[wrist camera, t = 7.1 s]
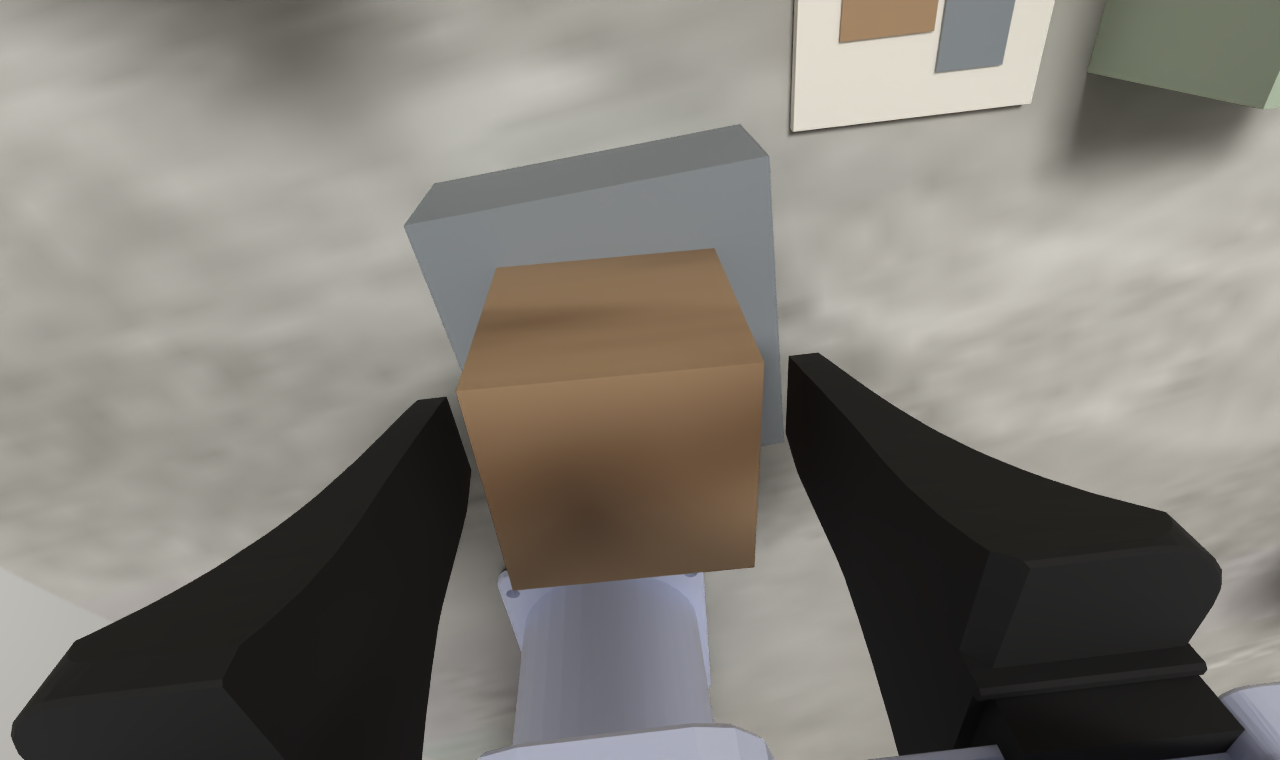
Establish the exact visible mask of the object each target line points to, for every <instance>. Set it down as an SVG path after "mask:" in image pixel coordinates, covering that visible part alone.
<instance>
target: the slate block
mask: <svg viewBox="0 0 1280 760" xmlns="http://www.w3.org/2000/svg"><path fill="white" fill-rule="evenodd" d="M404 228H405V230H406V233H407V235H408V238H409V240H410V243H411V245H412V248H413V250H414V253H415V255H416V258H417V260H418V263H419V265H420V268H421V270H422V273H423V275H424V278H425V280H426V283H427V285H428V288H429V290H430V293H431V295H432V298H433V300H434V303H435V305H436V308H437V310H438V313H439V315H440V318H441V320H442V323H443V325H444V328H445V330H446V333H447V335H448V338H449V340H450V343H451V345H452V348H453V350H454V353H455V355H456V358H457V360H458V363H459V365H460V368H461V370H462V371H463V368H464V365H465V362H466V359H467V356H468V353H469V350H470V347H471V344H472V341H473V337H474V334H475V331H476V328H477V325H478V322H479V319H480V316H481V313H482V310H483V307H484V304H485V301H486V298H487V295H488V292H489V289H490V286H491V283H492V279H493V276H494V273H495V270H496V268H499V267H510V266H521V265H532V264H543V263H554V262H565V261H576V260H588V259H599V258H610V257H621V256H632V255H643V254H654V253H665V252H676V251H687V250H699V249H710V248H715V251H716V253H717V255H718V258H719V260H720V262H721V264H722V267H723V269H724V271H725V274H726V276H727V278H728V280H729V283H730V285H731V287H732V290H733V292H734V294H735V297H736V299H737V301H738V303H739V306H740V308H741V310H742V313H743V315H744V317H745V319H746V322H747V324H748V326H749V329H750V331H751V333H752V335H753V338H754V340H755V342H756V345H757V347H758V349H759V351H760V354H761V356H762V358H763V361H764V379H763V400H762V421H761V441H760V446H764V445H770V444H776V443H781V442H784V432H783V413H782V394H781V374H780V355H779V336H778V316H777V297H776V278H775V258H774V239H773V220H772V200H771V181H770V162H769V155H768V154H767V153H766V152H765V151H764V150H763V149H762V147H761V146H760V145H759V144H758V143H757V142H756V141H755V140H754V139H753V138H752V137H751V136H750V134H749V133H748V132H747V131H746V130H745V129H744V128H743V127H742V126H741V125H740V124H738V125H733V126H728V127H723V128H718V129H713V130H707V131H702V132H697V133H692V134H687V135H682V136H677V137H671V138H666V139H661V140H656V141H651V142H646V143H641V144H635V145H630V146H625V147H620V148H615V149H610V150H605V151H599V152H594V153H589V154H584V155H579V156H574V157H569V158H563V159H558V160H553V161H548V162H543V163H538V164H533V165H527V166H522V167H517V168H512V169H507V170H502V171H496V172H491V173H486V174H481V175H476V176H471V177H466V178H460V179H455V180H450V181H445V182H440V183H435V184H434V185H433V186H432V188H431V189H430V190H429V192H428V193H427V194H426V196H425V197H424V198H423V200H422V201H421V203H420V204H419V205H418V207H417V208H416V209H415V211H414V212H413V214H412V215H411V216H410V218H409V219H408V220H407V222H406V223H405V225H404Z"/></svg>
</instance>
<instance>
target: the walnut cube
mask: <svg viewBox="0 0 1280 760" xmlns="http://www.w3.org/2000/svg"><path fill="white" fill-rule="evenodd" d="M763 379H764V361H763V358H762V356H761V354H760V351H759V349H758V347H757V345H756V342H755V340H754V338H753V335H752V333H751V331H750V329H749V326H748V324H747V322H746V319H745V317H744V315H743V313H742V310H741V308H740V306H739V303H738V301H737V299H736V297H735V294H734V292H733V290H732V287H731V285H730V283H729V280H728V278H727V276H726V274H725V271H724V269H723V267H722V264H721V262H720V260H719V258H718V255H717V253H716V251H715V248H710V249H699V250H687V251H676V252H665V253H654V254H643V255H632V256H621V257H610V258H599V259H588V260H576V261H565V262H554V263H543V264H532V265H521V266H510V267H499V268H496V270H495V273H494V276H493V279H492V283H491V286H490V289H489V292H488V295H487V298H486V301H485V304H484V307H483V310H482V313H481V316H480V319H479V322H478V325H477V328H476V331H475V334H474V337H473V341H472V344H471V347H470V350H469V353H468V356H467V359H466V362H465V365H464V368H463V371H462V374H461V377H460V380H459V383H458V386H457V389H456V393H457V397H458V400H459V404H460V407H461V411H462V414H463V418H464V421H465V425H466V428H467V432H468V435H469V439H470V442H471V446H472V449H473V453H474V456H475V460H476V463H477V467H478V470H479V474H480V477H481V481H482V484H483V488H484V491H485V495H486V498H487V502H488V506H489V509H490V513H491V516H492V520H493V523H494V527H495V530H496V534H497V537H498V541H499V544H500V548H501V551H502V555H503V558H504V562H505V565H506V569H507V572H508V576H509V579H510V583H511V586H512V590H513V591H516V590H526V589H536V588H546V587H557V586H567V585H577V584H587V583H598V582H608V581H618V580H628V579H639V578H649V577H659V576H670V575H680V574H690V573H700V572H711V571H721V570H731V569H741V568H752V567H754V565H755V544H756V524H757V503H758V482H759V462H760V441H761V421H762V400H763Z"/></svg>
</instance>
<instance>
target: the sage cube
mask: <svg viewBox="0 0 1280 760" xmlns="http://www.w3.org/2000/svg"><path fill="white" fill-rule="evenodd" d="M1087 72H1088V73H1093V74H1097V75H1102V76H1107V77H1112V78H1116V79H1121V80H1126V81H1131V82H1135V83H1140V84H1145V85H1150V86H1154V87H1159V88H1164V89H1169V90H1173V91H1178V92H1183V93H1188V94H1192V95H1197V96H1202V97H1207V98H1211V99H1216V100H1221V101H1226V102H1230V103H1235V104H1240V105H1245V106H1249V107H1254V108H1259V109H1270V108H1279V107H1280V0H1107V1H1106V5H1105V8H1104V12H1103V16H1102V19H1101V23H1100V27H1099V30H1098V34H1097V37H1096V41H1095V45H1094V48H1093V52H1092V56H1091V59H1090V63H1089V67H1088V70H1087Z"/></svg>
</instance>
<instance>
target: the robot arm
mask: <svg viewBox="0 0 1280 760" xmlns="http://www.w3.org/2000/svg"><path fill="white" fill-rule="evenodd" d="M786 436H787V439H788V442H789V446H790V449H791V453H792V456H793V459H794V463H795V466H796V469H797V472H798V475H799V477H800V479H801V481H802V484H803V486H804V488H805V490H806V492H807V495H808V497H809V499H810V501H811V503H812V506H813V508H814V510H815V512H816V514H817V516H818V519H819V521H820V523H821V525H822V527H823V529H824V532H825V534H826V536H827V538H828V540H829V542H830V545H831V547H832V549H833V551H834V553H835V555H836V558H837V560H838V562H839V565H840V567H841V570H842V572H843V575H844V577H845V580H846V583H847V586H848V589H849V592H850V595H851V598H852V601H853V604H854V607H855V610H856V613H857V616H858V619H859V622H860V625H861V628H862V631H863V635H864V638H865V641H866V644H867V647H868V651H869V654H870V657H871V660H872V663H873V666H874V670H875V673H876V677H877V680H878V684H879V687H880V690H881V694H882V697H883V701H884V704H885V707H886V711H887V714H888V718H889V721H890V725H891V728H892V732H893V736H894V739H895V743H896V747H897V751H898V754H899V756H895V757H886V758H877V759H869V760H1280V682H1273V683H1264V684H1256V685H1247V686H1243V687H1239V688H1234V689H1232V690H1230V691H1228V692H1226V693H1223V694H1221V695H1220V696H1219V697H1217V696H1216V695H1215V693H1214V692H1213V691H1212V690H1211V689H1210V688H1209V686H1208V685H1207V684H1206V683H1205V682H1204V681H1203V679H1202V678H1201V677H1200V676H1199V675H1204V673H1205V672H1206V670H1207V666H1206V663H1205V661H1204V660H1203V659H1202V658H1201V657H1200V656H1199V655H1198V653H1197V652H1196V651H1195V650H1194V649H1193V648H1192V647H1191V645H1190V644H1189V643H1188V642H1189V641H1190V639H1191V638H1192V636H1193V635H1194V633H1195V632H1196V630H1197V629H1198V627H1199V626H1200V624H1201V623H1202V621H1203V620H1204V618H1205V617H1206V615H1207V614H1208V612H1209V611H1210V609H1211V608H1212V606H1213V605H1214V602H1215V600H1216V598H1217V596H1218V594H1219V592H1220V589H1221V585H1222V569H1221V568H1220V566H1219V564H1218V563H1217V561H1216V559H1215V558H1214V557H1213V556H1212V555H1211V554H1210V553H1209V552H1208V551H1207V550H1206V549H1205V548H1204V547H1202V546H1201V545H1200V544H1199V543H1198V542H1197V541H1196V540H1195V539H1194V538H1193V537H1192V536H1191V535H1190V534H1189V533H1188V532H1187V531H1186V530H1185V529H1183V528H1182V527H1181V526H1180V525H1179V524H1178V523H1177V522H1176V521H1175V520H1174V519H1173V518H1172V517H1171V516H1169V515H1168V514H1167V513H1166V512H1163V511H1159V510H1155V509H1151V508H1148V507H1144V506H1140V505H1136V504H1132V503H1128V502H1124V501H1120V500H1117V499H1113V498H1109V497H1105V496H1101V495H1097V494H1094V493H1090V492H1087V491H1084V490H1081V489H1078V488H1075V487H1071V486H1068V485H1065V484H1062V483H1059V482H1056V481H1053V480H1050V479H1047V478H1044V477H1041V476H1038V475H1036V474H1033V473H1030V472H1027V471H1025V470H1022V469H1019V468H1017V467H1015V466H1012V465H1010V464H1007V463H1005V462H1002V461H1000V460H997V459H995V458H992V457H990V456H988V455H985V454H983V453H981V452H978V451H976V450H974V449H972V448H970V447H968V446H966V445H964V444H962V443H960V442H958V441H956V440H954V439H952V438H950V437H948V436H945V435H943V434H941V433H940V432H938V431H936V430H934V429H932V428H930V427H929V426H927V425H925V424H923V423H922V422H920V421H918V420H917V419H915V418H913V417H912V416H910V415H908V414H907V413H905V412H903V411H902V410H900V409H898V408H897V407H895V406H894V405H892V404H891V403H889V402H887V401H886V400H884V399H883V398H881V397H880V396H878V395H877V394H876V393H874V392H873V391H871V390H870V389H868V388H867V387H865V386H864V385H863V384H861V383H860V382H858V381H857V380H856V379H854V378H853V377H851V376H850V375H849V374H847V373H846V372H844V371H843V370H842V369H840V368H839V367H838V366H836V365H835V364H833V363H832V362H831V361H829V360H828V359H827V358H825V357H824V356H822V355H821V354H819V353H811V354H802V355H794V356H789V363H788V388H787V413H786ZM470 478H471V468H470V465H469V462H468V459H467V456H466V453H465V450H464V447H463V444H462V441H461V438H460V435H459V432H458V429H457V426H456V423H455V420H454V417H453V414H452V411H451V408H450V405H449V402H448V399H447V397H440V398H431V399H423V400H417V401H416V402H415V403H414V404H413V405H412V406H411V407H410V408H408V409H407V410H406V411H405V412H404V413H403V414H402V415H401V416H400V417H399V418H398V419H397V420H396V421H395V422H394V423H393V424H392V425H391V426H390V427H389V428H388V429H387V430H386V431H385V432H384V433H383V434H382V435H381V436H380V437H379V438H378V439H377V440H376V441H375V442H374V443H373V444H372V445H371V446H370V447H369V448H368V449H367V450H366V451H365V452H364V453H363V454H362V455H361V456H360V457H359V458H358V459H357V460H356V461H355V462H354V463H353V464H352V465H350V466H349V467H348V468H347V469H346V470H345V471H344V472H343V473H342V474H341V475H339V476H338V477H337V478H336V479H335V480H334V481H333V482H332V483H331V484H329V485H328V486H327V487H326V488H325V489H324V490H323V491H322V492H321V493H319V494H318V495H317V496H316V497H315V498H313V499H312V500H311V501H310V502H308V503H307V504H306V505H305V506H303V507H302V508H301V509H300V510H298V511H297V512H296V513H294V514H293V515H292V516H291V517H289V518H288V519H287V520H285V521H284V522H283V523H281V524H280V525H279V526H277V527H276V528H275V529H273V530H272V531H270V532H269V533H268V534H266V535H265V536H263V537H262V538H260V539H259V540H257V541H255V542H254V543H252V544H251V545H249V546H248V547H246V548H245V549H243V550H242V551H240V552H239V553H237V554H236V555H234V556H233V557H231V558H230V559H228V560H227V561H225V562H224V563H222V564H221V565H219V566H217V567H216V568H214V569H212V570H211V571H209V572H207V573H206V574H204V575H202V576H201V577H199V578H197V579H195V580H194V581H192V582H190V583H188V584H187V585H185V586H183V587H181V588H180V589H178V590H176V591H174V592H172V593H171V594H169V595H167V596H165V597H163V598H161V599H160V600H158V601H156V602H154V603H152V604H150V605H148V606H146V607H144V608H142V609H140V610H138V611H136V612H134V613H132V614H130V615H128V616H126V617H124V618H122V619H120V620H118V621H116V622H114V623H112V624H110V625H108V626H106V627H104V628H102V629H100V630H98V631H96V632H94V633H92V634H89V635H87V636H85V637H83V638H81V639H79V640H76V641H75V642H74V643H73V645H72V646H71V647H70V649H69V650H68V651H67V652H66V654H65V655H64V656H63V658H62V659H61V660H60V662H59V663H58V664H57V665H56V667H55V668H54V669H53V671H52V672H51V673H50V675H49V676H48V677H47V679H46V680H45V681H44V682H43V684H42V685H41V686H40V688H39V689H38V690H37V692H36V693H35V694H34V696H33V697H32V698H31V699H30V701H29V702H28V703H27V705H26V706H25V707H24V709H23V710H22V711H21V713H20V714H19V715H18V717H17V718H16V719H15V720H14V722H13V725H12V731H11V737H12V740H13V743H14V745H15V747H16V749H17V751H18V754H19V755H20V756H21V757H22V758H23V759H24V760H422V752H423V742H424V732H425V721H426V713H427V704H428V696H429V688H430V680H431V672H432V665H433V658H434V651H435V644H436V638H437V631H438V624H439V620H440V615H441V610H442V606H443V602H444V598H445V594H446V590H447V586H448V583H449V579H450V575H451V571H452V567H453V564H454V560H455V556H456V552H457V548H458V545H459V541H460V537H461V533H462V529H463V525H464V521H465V517H466V512H467V505H468V497H469V488H470ZM498 588H499V591H500V594H501V597H502V600H503V602H504V605H505V608H506V611H507V614H508V616H509V619H510V622H511V625H512V628H513V631H514V633H515V636H516V639H517V642H518V645H519V648H520V650H521V653H522V656H521V665H520V675H519V685H518V694H517V704H516V713H515V723H514V733H513V742H512V745H511V746H507V747H504V748H500V749H496V750H492V751H489V752H485V753H484V754H483V755H481V756H480V757H479V758H478V759H476V760H774V757H773V756H772V754H771V752H770V750H769V748H768V746H767V744H766V743H765V741H764V739H762V738H761V737H759V736H758V735H756V734H754V733H751V732H749V731H746V730H744V729H741V728H739V727H736V726H734V725H731V724H716V723H714V721H713V715H712V709H711V702H710V696H709V690H708V688H709V687H710V685H711V679H710V664H709V648H708V633H707V618H706V602H705V587H704V572H700V573H690V574H680V575H670V576H659V577H649V578H639V579H628V580H618V581H608V582H598V583H587V584H577V585H567V586H557V587H546V588H536V589H526V590H516V591H513V590H512V586H511V583H510V579H509V576H508V572H507V570H506V571H504V572H502V573H500V575H499V577H498Z"/></svg>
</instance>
